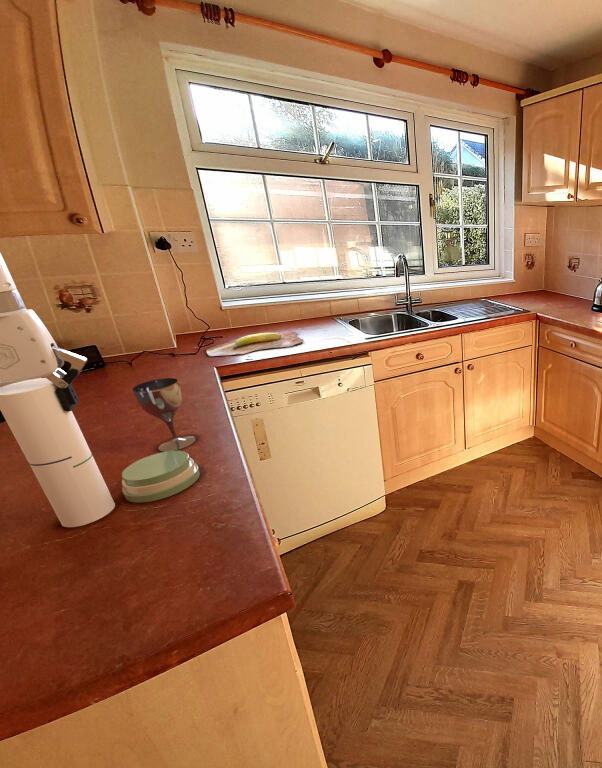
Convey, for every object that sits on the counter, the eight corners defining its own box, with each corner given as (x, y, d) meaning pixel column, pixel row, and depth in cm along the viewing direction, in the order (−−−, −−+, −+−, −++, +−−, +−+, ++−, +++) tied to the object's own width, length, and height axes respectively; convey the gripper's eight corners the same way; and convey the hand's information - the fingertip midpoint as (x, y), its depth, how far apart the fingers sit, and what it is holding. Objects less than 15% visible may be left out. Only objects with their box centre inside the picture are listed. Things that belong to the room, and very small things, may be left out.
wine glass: (185, 432, 104) (165, 376, 98) (205, 439, 101) (185, 381, 95) (148, 447, 98) (124, 388, 92) (168, 455, 94) (144, 394, 89)
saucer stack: (108, 499, 80) (98, 479, 78) (166, 464, 91) (159, 446, 89) (160, 505, 78) (152, 485, 76) (214, 469, 89) (208, 451, 87)
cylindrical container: (56, 517, 75) (-13, 388, 66) (108, 496, 81) (51, 374, 71) (67, 533, 72) (-5, 398, 62) (120, 509, 77) (62, 383, 67)
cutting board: (295, 330, 195) (294, 322, 193) (309, 343, 174) (307, 334, 173) (205, 344, 176) (202, 336, 174) (208, 361, 155) (205, 351, 154)
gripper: (-125, 318, 55) (-53, 437, 62) (55, 302, 63) (102, 410, 69) (-87, 308, 61) (-25, 417, 68) (73, 295, 69) (115, 394, 75)
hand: (39, 413), depth 68 cm, fingers closed on cylindrical container, 7 cm apart
